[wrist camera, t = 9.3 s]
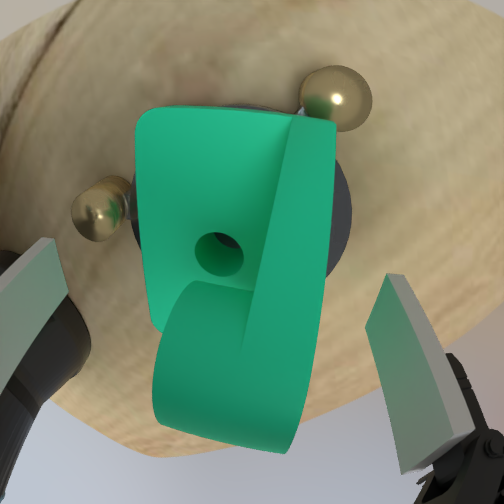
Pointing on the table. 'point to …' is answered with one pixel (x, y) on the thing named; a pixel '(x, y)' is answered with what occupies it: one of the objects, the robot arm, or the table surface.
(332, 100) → the plate
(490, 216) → the table surface
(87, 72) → the table surface
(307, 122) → the camera mount
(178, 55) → the table surface
